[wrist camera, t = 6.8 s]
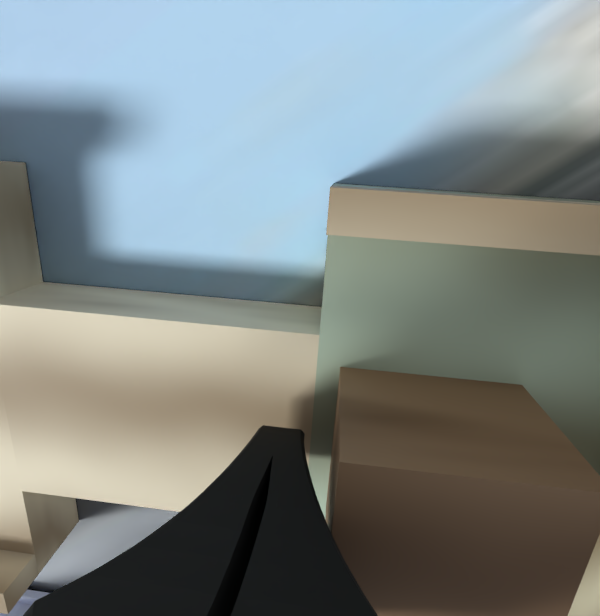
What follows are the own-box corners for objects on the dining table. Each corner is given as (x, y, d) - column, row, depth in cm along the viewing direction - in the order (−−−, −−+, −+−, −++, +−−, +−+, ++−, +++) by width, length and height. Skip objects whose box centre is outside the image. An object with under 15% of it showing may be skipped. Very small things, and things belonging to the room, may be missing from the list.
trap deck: (534, 582, 16) (611, 748, 12) (-78, 499, 18) (-222, 612, 14) (663, 205, 12) (885, 226, 7) (-184, 148, 14) (-465, 134, 9)
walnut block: (484, 524, 13) (544, 674, 9) (326, 504, 13) (319, 639, 9) (522, 384, 11) (615, 493, 7) (340, 366, 11) (339, 461, 8)
